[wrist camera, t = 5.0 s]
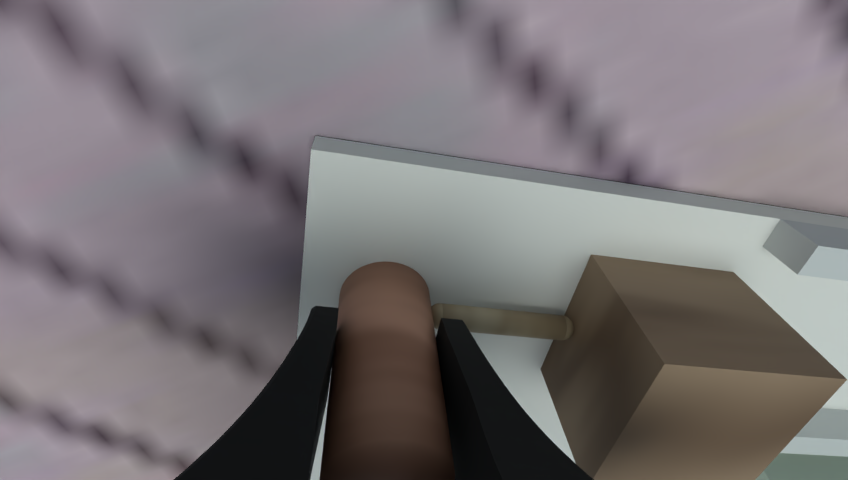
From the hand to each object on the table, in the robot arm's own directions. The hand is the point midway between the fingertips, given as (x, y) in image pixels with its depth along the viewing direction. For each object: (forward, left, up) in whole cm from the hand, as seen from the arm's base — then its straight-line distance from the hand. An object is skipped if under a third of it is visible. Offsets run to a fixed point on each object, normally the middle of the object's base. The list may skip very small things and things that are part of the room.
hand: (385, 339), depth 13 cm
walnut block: (0, -5, -2) cm, 5 cm away
